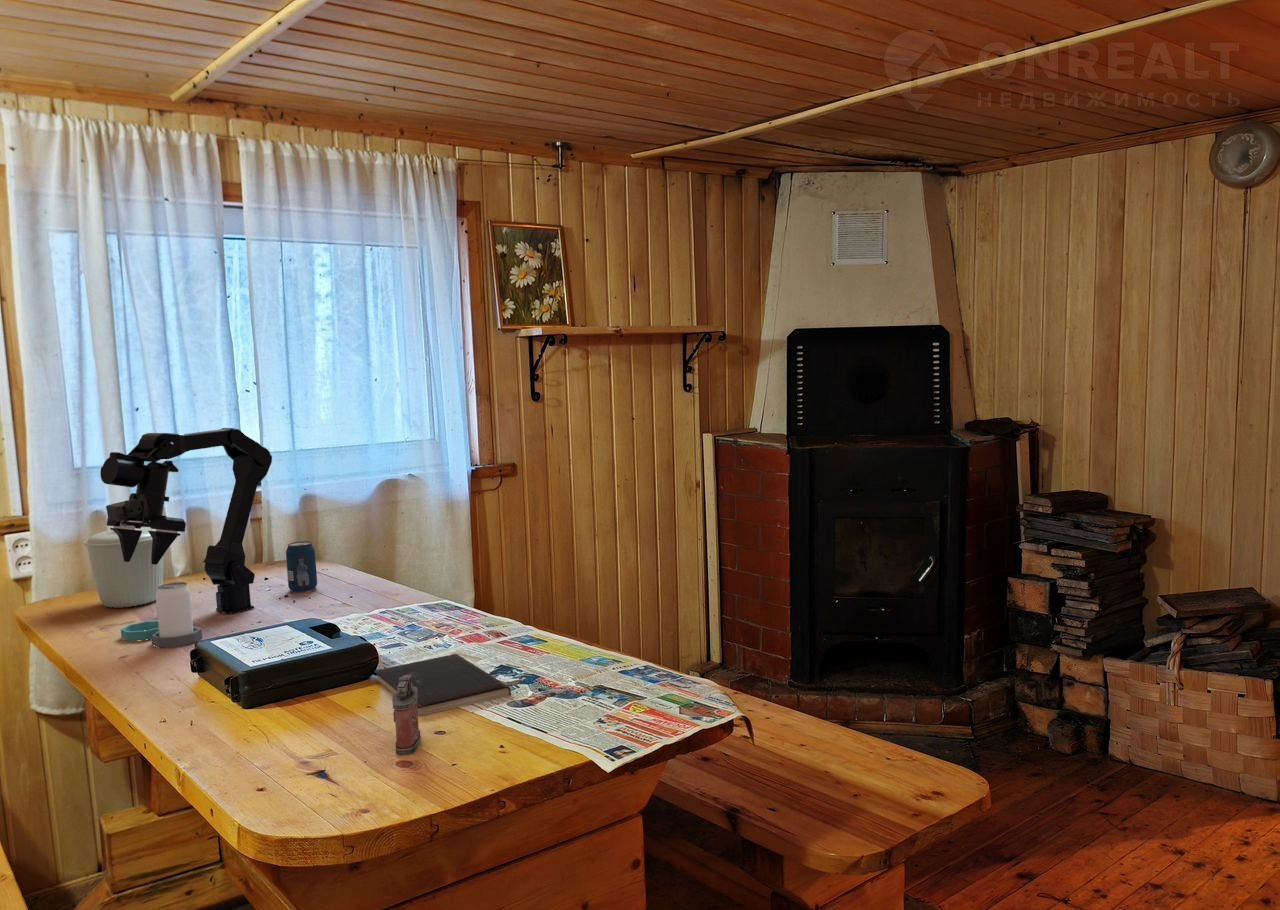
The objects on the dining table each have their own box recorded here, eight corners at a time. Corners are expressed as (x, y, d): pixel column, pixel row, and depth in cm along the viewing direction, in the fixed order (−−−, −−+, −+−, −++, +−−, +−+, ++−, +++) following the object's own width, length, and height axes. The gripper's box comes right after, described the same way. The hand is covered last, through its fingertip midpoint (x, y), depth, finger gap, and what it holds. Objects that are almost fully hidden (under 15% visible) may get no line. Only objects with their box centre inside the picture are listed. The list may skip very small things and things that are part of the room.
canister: (178, 603, 242) (170, 518, 239) (94, 617, 232) (85, 527, 229) (165, 590, 256) (158, 510, 254) (86, 602, 246) (78, 519, 244)
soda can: (306, 585, 255) (303, 539, 254) (323, 588, 251) (319, 542, 250) (283, 591, 250) (279, 544, 248) (299, 594, 246) (296, 546, 244)
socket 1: (159, 627, 219) (158, 618, 219) (175, 633, 213) (174, 624, 213) (116, 636, 213) (116, 627, 213) (132, 643, 207) (132, 634, 207)
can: (180, 646, 203) (175, 588, 202) (153, 645, 205) (147, 588, 203) (200, 637, 210) (196, 581, 208) (173, 636, 211) (168, 581, 210)
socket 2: (189, 633, 213) (188, 624, 213) (207, 639, 207) (206, 630, 207) (147, 642, 207) (146, 633, 207) (164, 650, 201) (163, 640, 201)
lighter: (401, 735, 149) (396, 670, 148) (423, 733, 149) (419, 668, 148) (392, 756, 141) (387, 688, 140) (416, 754, 141) (411, 686, 140)
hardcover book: (418, 720, 157) (417, 706, 156) (375, 683, 176) (374, 670, 176) (511, 698, 165) (510, 685, 165) (459, 665, 185) (459, 653, 184)
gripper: (88, 484, 211) (77, 558, 209) (145, 486, 202) (133, 563, 200) (136, 491, 220) (126, 561, 218) (192, 493, 211) (181, 566, 209)
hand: (140, 563), depth 211 cm, fingers open, 9 cm apart
